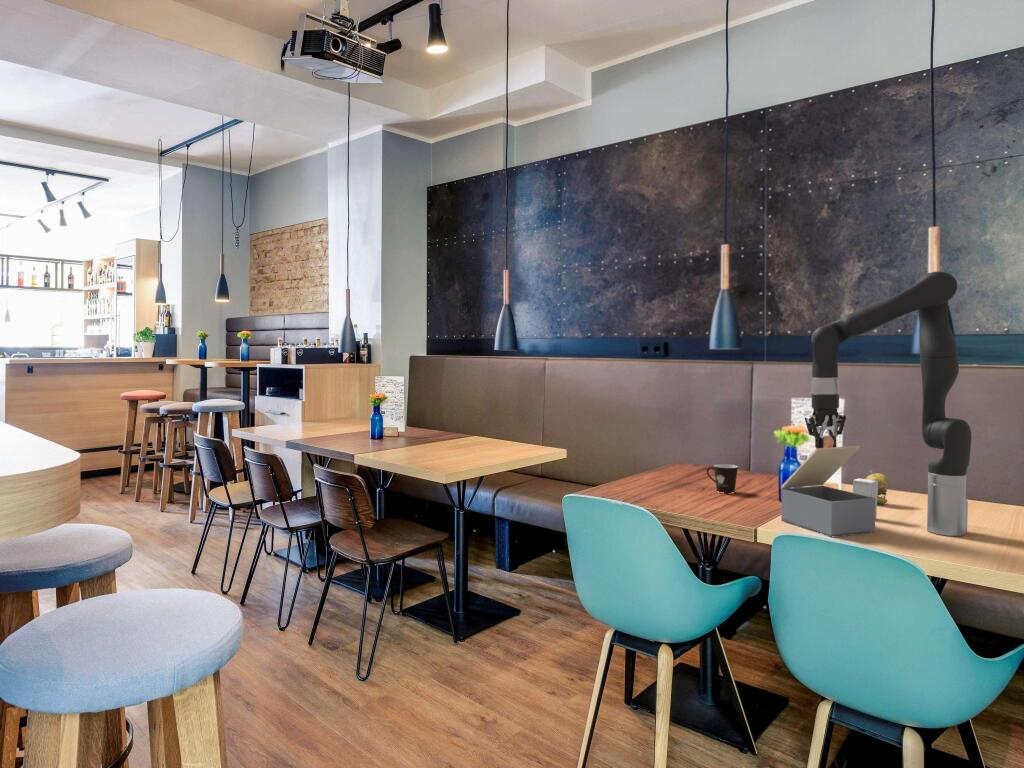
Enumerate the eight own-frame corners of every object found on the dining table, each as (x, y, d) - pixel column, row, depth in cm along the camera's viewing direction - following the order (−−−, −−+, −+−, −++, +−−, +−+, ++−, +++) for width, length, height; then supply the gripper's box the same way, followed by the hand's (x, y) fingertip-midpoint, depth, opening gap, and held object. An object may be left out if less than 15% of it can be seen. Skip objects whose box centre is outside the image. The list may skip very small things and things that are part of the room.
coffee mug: (742, 493, 246) (742, 467, 246) (722, 495, 244) (722, 468, 243) (724, 488, 257) (724, 462, 257) (704, 489, 255) (705, 463, 255)
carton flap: (822, 484, 210) (812, 468, 214) (860, 447, 196) (848, 430, 200) (781, 488, 205) (772, 471, 209) (817, 450, 191) (806, 432, 195)
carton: (822, 516, 210) (822, 485, 210) (874, 532, 191) (875, 498, 191) (781, 520, 205) (781, 489, 205) (831, 537, 186) (831, 502, 186)
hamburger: (893, 505, 226) (894, 470, 225) (878, 507, 223) (878, 472, 222) (873, 501, 233) (874, 467, 232) (858, 502, 230) (859, 468, 230)
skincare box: (851, 517, 209) (851, 479, 209) (857, 515, 212) (858, 477, 212) (871, 521, 204) (871, 482, 204) (877, 519, 207) (878, 480, 207)
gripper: (834, 391, 204) (834, 447, 204) (796, 393, 199) (797, 449, 199) (853, 392, 197) (854, 449, 197) (815, 393, 192) (816, 452, 192)
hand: (825, 449), depth 198 cm, fingers closed on carton flap, 4 cm apart
